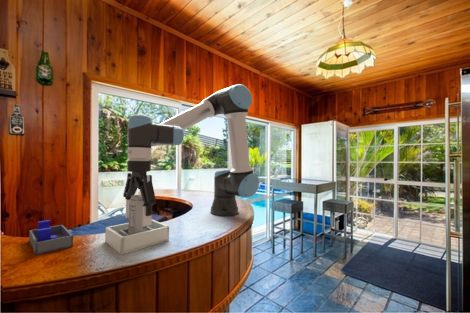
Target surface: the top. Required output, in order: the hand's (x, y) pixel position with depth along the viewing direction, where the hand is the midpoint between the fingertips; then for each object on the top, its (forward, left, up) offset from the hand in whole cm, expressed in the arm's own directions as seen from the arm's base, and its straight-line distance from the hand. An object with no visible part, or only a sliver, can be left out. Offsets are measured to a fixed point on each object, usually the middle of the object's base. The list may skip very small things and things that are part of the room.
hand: (137, 221), depth 77 cm
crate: (0, 0, -7) cm, 7 cm away
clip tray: (+21, -18, -7) cm, 29 cm away
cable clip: (+22, -18, -7) cm, 29 cm away
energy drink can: (0, 0, -6) cm, 6 cm away
